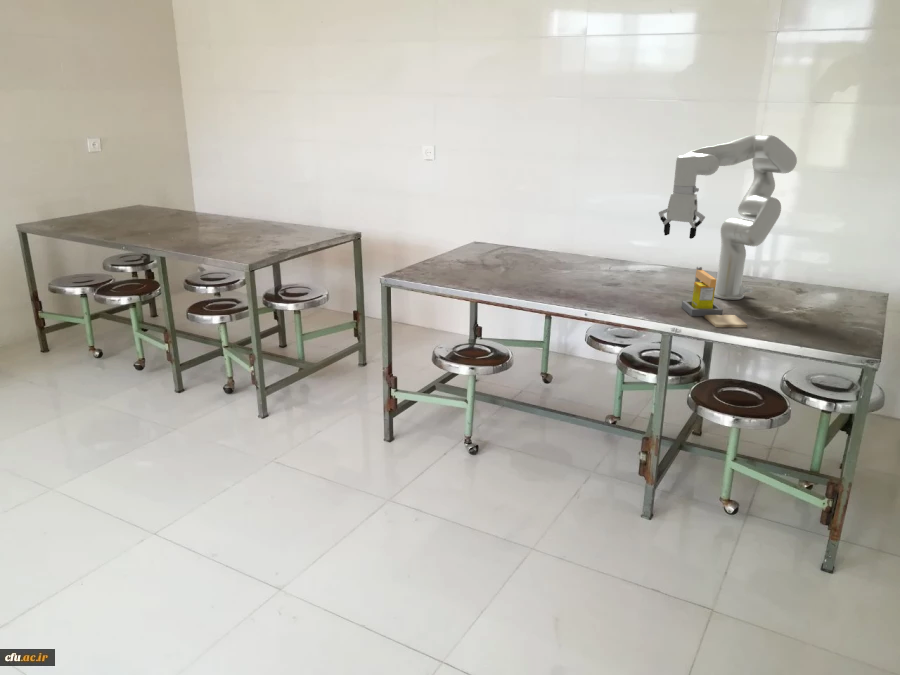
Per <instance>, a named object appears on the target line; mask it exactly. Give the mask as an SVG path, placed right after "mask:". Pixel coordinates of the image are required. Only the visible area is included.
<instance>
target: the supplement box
mask: <svg viewBox="0 0 900 675" xmlns="http://www.w3.org/2000/svg"><path fill="white" fill-rule="evenodd" d="M715 288H716V287H709V286H707V285H706V284H705V283H703V282H702V281H700V282H695V281H694V283H693V290H692V291H693V292H692V298H691V299H692V300H691V301H692V307H693V308H694V309H713V302H714V299H715V297H714V293H715Z"/></svg>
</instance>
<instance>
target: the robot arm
mask: <svg viewBox="0 0 900 675" xmlns="http://www.w3.org/2000/svg"><path fill="white" fill-rule="evenodd" d="M797 158H798V157H797V155H796V153H795V152H794V151H793V149H792V148H790V146H788V145H787V144H786V143H785V142H784V141H783V140H781V139H780V138H779V137H777V136H775V135H772V134H771V135H769V134H757V133H756V134H755V133H754V134H749V135H747V136H744V137H741V138H738V139H734V140H732V141H730V142H726V143H725V142H724V143H720V144H719V143H718V144H716V145H711V146H704V147H701V148H698V149H694V150H690V151H689V152H687V153H685V154H683V155H681V154H680V155H678V156H677V158H676V159H675V161H676V162H675V168H674V169H675V170H674V171H675V172H674V180H673V189H672V191H673V192H671V193H670V197H669V200H668V205H667V208H665V209H663V210H660V211H659V212H658V215H659V218H660V221H661V222H662V224H663V226H664V227H663V233H664V236H668V235H670V232H671V221H675V222H683V223H689V225H690V226H691V228H689V237H688V238H689V239H690V240H691V239H694V238H695V237H696V235H697V229H698V227H699V226H701V224H702V223H703V222H704V220H705V218H706V216H705V215H704V214H703V213H701V212H700V211H698V194H696V193H698V192H699V190H700V189H699V188H698V187H697V183H696V182H697V176H705V177H707V176H711V175H714V174H715V173H716V172H717V171H718V169H719V167H730V166H735V165H738V164H741V163H743V162H746V161H749V160H752V162H751V163H752V169H753V180H752V183H751V185H750V187H749V188H748V189H747V192H746V193H745V195H744V196H743V199H742V200H741V201H740V203H739V205H738V208H737V211H738V212H737V213H738V215H739V216H741V217H743V218H741V217H729V218H728V219H725V221H723V223H722V224H721V227H720V242H721V243H720V253H719V260H718V268H717V273H716V274H717V275H716V279H717V280H716V287H715V293H714V298H716V299H721V300H727V301H731V300H733V301H735V300H742V299H744V297H745V293H753V292H754V288H753V287H747V286H743V285H742V283H743V276H744V269H745V265H746V264H745V262H746V256H747V252H746V246H747V247H748V246H749V247H759V246H760V245H762V244H763V242H764V241H765V240H766V239H767V237H768V236H769V234H770V233H771V231H772V229H773V227H774V226H775V224H776V222H777V221H778V219H779V217H780V215H781V211H782V204H781V201H780V200H779V199H777V198H776V197H773V196H772V195H773V192H774V191H775V188H776V180H775V178H774V173H775V174H789V173H791V172H792V171H793V170H795V168H796V166H797V164H798V163H797V162H798V161H797V160H798V159H797ZM665 214H666V217H665ZM697 218H698V220H697ZM696 220H697V221H696Z"/></svg>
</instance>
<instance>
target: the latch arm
mask: <svg viewBox="0 0 900 675" xmlns="http://www.w3.org/2000/svg"><path fill="white" fill-rule="evenodd" d="M695 268H696V269H695V276H694V282H703V283H705V284H706V285H707V286H709V287H715V288H716V281H717V278H715V277H714V276H712V275H711V274H709V273H708V272H706V271H705V270H703V267H702V266H696V267H695Z"/></svg>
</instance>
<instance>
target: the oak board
mask: <svg viewBox="0 0 900 675" xmlns="http://www.w3.org/2000/svg"><path fill="white" fill-rule="evenodd" d="M703 317H704V319H705V320H707V321H708V322H709V323H710V324H711V325H713V327H715V328H747V327H748V324H747V323H746V322H744V320H742V319H741V318H740V317H738V316H737V315H735V314H722V315H705V316H703Z"/></svg>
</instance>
